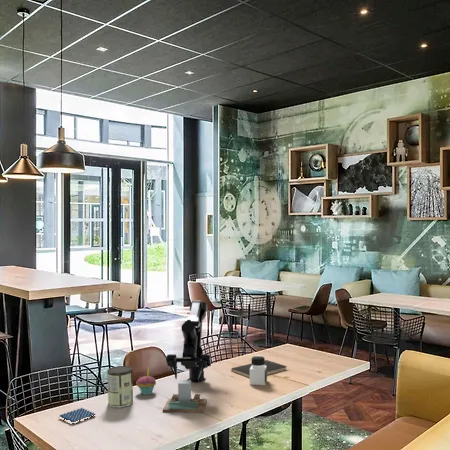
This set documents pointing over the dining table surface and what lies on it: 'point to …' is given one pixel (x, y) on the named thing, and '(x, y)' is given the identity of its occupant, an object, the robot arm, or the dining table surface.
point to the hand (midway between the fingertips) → (186, 378)
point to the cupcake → (146, 383)
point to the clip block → (184, 390)
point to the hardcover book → (271, 366)
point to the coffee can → (120, 386)
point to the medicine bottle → (258, 371)
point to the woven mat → (77, 415)
